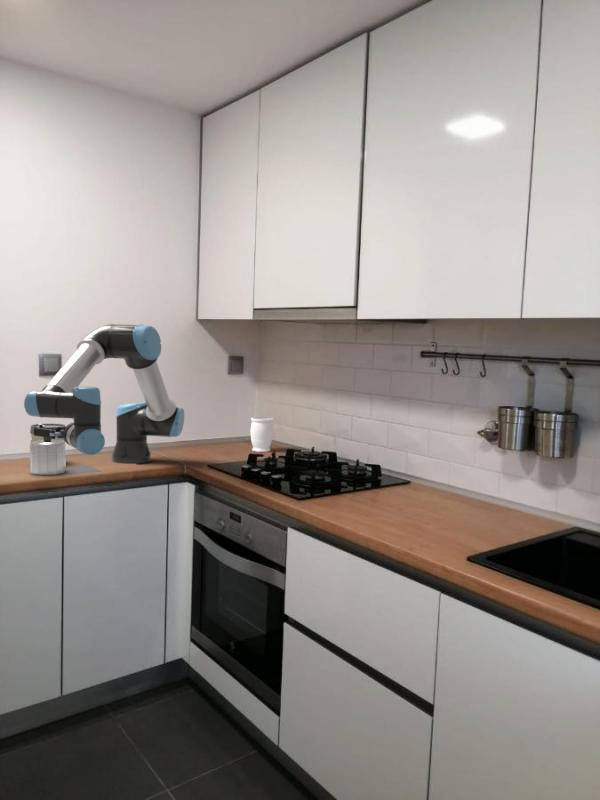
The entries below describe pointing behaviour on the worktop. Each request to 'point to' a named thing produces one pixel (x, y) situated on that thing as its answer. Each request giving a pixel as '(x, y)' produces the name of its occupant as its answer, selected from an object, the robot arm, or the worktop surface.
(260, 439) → the jar
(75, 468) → the mat
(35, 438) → the reusable coffee cup
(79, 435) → the robot arm
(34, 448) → the faceted metal canister
